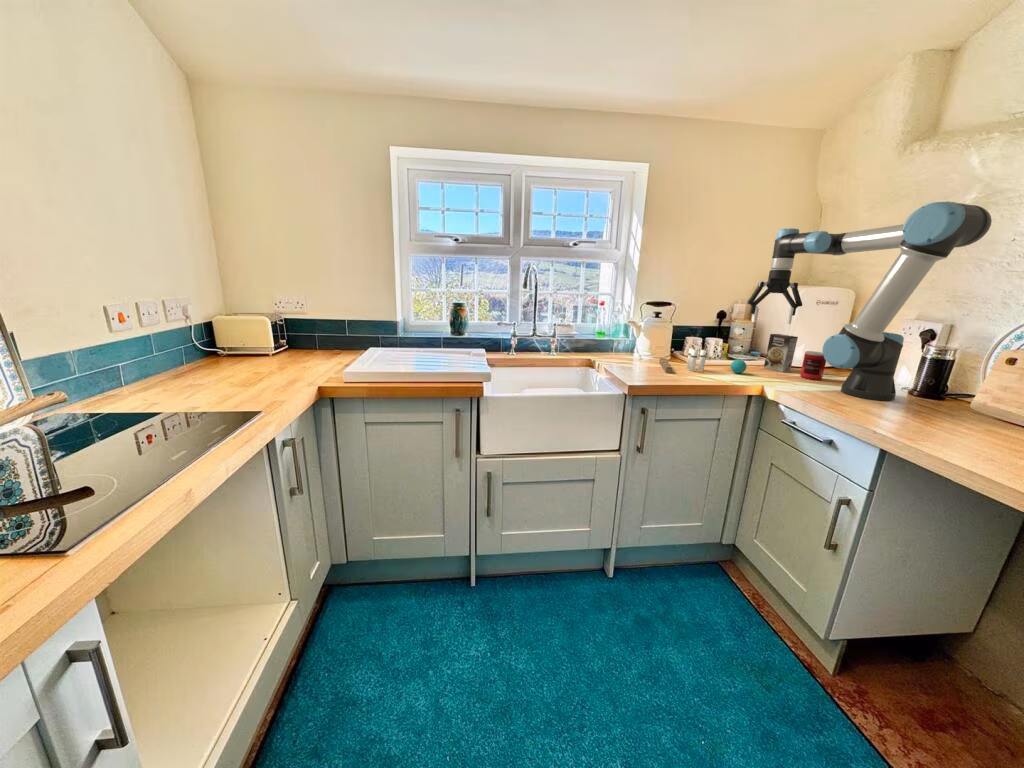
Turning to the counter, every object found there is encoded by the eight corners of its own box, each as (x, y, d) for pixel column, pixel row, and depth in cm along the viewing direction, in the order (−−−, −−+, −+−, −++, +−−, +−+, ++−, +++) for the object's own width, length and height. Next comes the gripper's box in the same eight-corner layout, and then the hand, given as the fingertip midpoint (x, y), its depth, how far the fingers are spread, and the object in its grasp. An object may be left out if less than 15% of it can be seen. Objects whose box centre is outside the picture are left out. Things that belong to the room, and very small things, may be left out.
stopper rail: (671, 373, 174) (672, 367, 173) (665, 372, 174) (666, 367, 174) (664, 363, 195) (665, 358, 194) (659, 362, 195) (659, 357, 195)
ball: (747, 375, 175) (749, 361, 174) (731, 374, 176) (734, 360, 175) (742, 372, 181) (744, 358, 179) (727, 371, 182) (730, 357, 181)
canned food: (814, 376, 177) (820, 351, 175) (826, 381, 170) (832, 355, 167) (795, 375, 178) (801, 350, 175) (806, 380, 170) (812, 354, 168)
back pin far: (692, 369, 183) (695, 349, 181) (686, 368, 184) (689, 349, 182) (691, 368, 186) (694, 348, 184) (685, 367, 186) (688, 348, 184)
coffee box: (762, 368, 191) (769, 333, 187) (771, 367, 194) (777, 333, 190) (782, 372, 183) (790, 336, 179) (791, 371, 186) (798, 336, 182)
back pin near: (695, 371, 179) (698, 351, 176) (689, 371, 179) (692, 350, 177) (694, 370, 181) (697, 350, 179) (688, 370, 181) (691, 350, 179)
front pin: (704, 371, 180) (707, 351, 178) (698, 370, 181) (701, 350, 178) (702, 370, 183) (706, 350, 180) (697, 369, 183) (700, 349, 181)
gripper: (810, 270, 167) (799, 323, 172) (744, 269, 171) (735, 320, 177) (819, 270, 160) (807, 325, 165) (750, 268, 164) (741, 322, 170)
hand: (770, 322), depth 171 cm, fingers open, 12 cm apart
